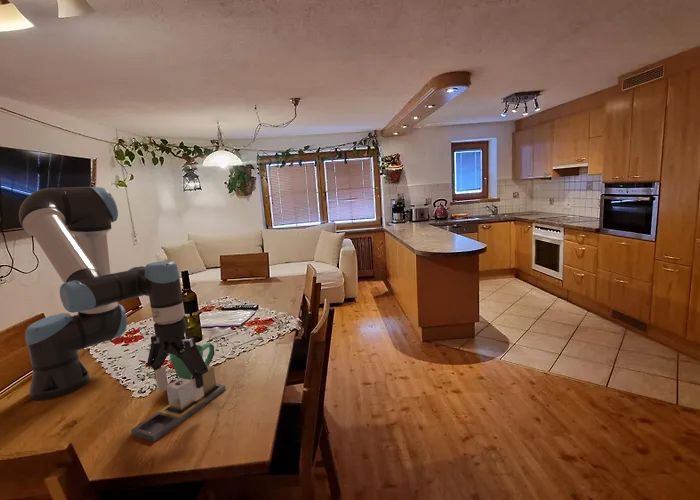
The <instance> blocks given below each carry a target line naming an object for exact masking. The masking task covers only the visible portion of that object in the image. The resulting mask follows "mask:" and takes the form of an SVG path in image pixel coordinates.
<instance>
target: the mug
mask: <svg viewBox="0 0 700 500" xmlns="http://www.w3.org/2000/svg"><path fill="white" fill-rule="evenodd" d="M196 346H197V348H198V350H199V352H200V354H201V356H202V358H203V357H204V355H203V354H204V351H205V350H206V349H207V348H209V351H208V354H207V356H206V359H205V360H204V362H205V364H206V366H210V364H211V362H212V361H213V358H214V356H215V345H214V344H213V343H211V342H210V343H209V342H206V343H204V344H202V345H200V344H196ZM183 351H185V350H184V349H183ZM183 351H182V352H183ZM169 358H170V361H171V364H172V366H173V368H174V371H175V373H176V375H177V377H178V379H179V378H183V379H188V380H191V374H190V371H189V370H188V368H187V367H186V366H185V364H184V363H183V362H182V360H181V359H180V358H178V357H177V356H176V355H173V354H169Z"/></svg>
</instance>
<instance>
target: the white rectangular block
mask: <svg viewBox="0 0 700 500" xmlns="http://www.w3.org/2000/svg"><path fill="white" fill-rule="evenodd" d="M166 388H167V389H166V394H167V400H168V405H169V407H170V411H172V412H176V413H180V414H182V413H183V412H184V411H186V410H187V409H189V408H190V407H191V406H193V405H194V404H195V401H194V396H193V390H192V383H191V380H188V379H183V378H179V377H178V378H177V379H176V380H174V381H172V382H171V383H168V385H167V386H166Z"/></svg>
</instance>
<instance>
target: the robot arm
mask: <svg viewBox="0 0 700 500" xmlns="http://www.w3.org/2000/svg"><path fill="white" fill-rule="evenodd" d="M117 206H118V205H117V203H116V200H115V198H114V196H113V194H111V192H110V191H109V190H107V188H103V187H101V186H100V187H99V186H75V187H74V186H72V187H71V186H70V187H45V188H42V189H39V190H37V191H35V192H32V193H31V194H30V195H28V196H27V197H26V198H25V199H24V200H23V202H22V203H21V204H20V206H19V211H18V221H19V223H20V226H21V227H22V228H23V230H24V232H25V233H27V235H29V236H32V237H34V239H35V240H36V242H37V243H38V245H39V247H40V248H41V250H42V251H43V253H44V254H45V256H46V257H47V259H48V260H49V263H50V264H51V265H52V266H53V268H54V269H55V271H56V273H57V274H58V276H59V278H60V279H61V280H62V282H63V283H62V284H61V285H60V287H59V297H60V301H61V303H62V306H63V307H64V310H65V311H67V312H63V313H58V314H53V315H49V316H46V317H43V318H41V319H38V320H37V321H34V322H33V323H31V324H29V326H27V327H26V329H25V331H24V334H25V335H24V336H25V344H26V346H27V349H28V350H27V351H28V354H29V359H30V363H31V368H32V376H31V381H30V386H29V396H30V398H31V400H34V401H45V400H51V399H55V398H59V397H60V398H61V397H63V396H65V395H69V394H71V393H73V392H75V391H77V390H79V389H81V388H82V387H84V386H86V384H88V383H89V382H90V374H89V371H88V370H87V368H86V367H85V365H84V364H83V362H82V361H81V359H80V356H79V351H81V350H84V349H87V348H91V347H93V346H96V345H98V344H99V345H100V344H102V343H105V342H110V341H113V340H114V339H116V338H119V337H121V336H122V335H123V334H124V333H125V332H126V330H127V327H128V316H127V314H126V309H125V308H124V306H123V305H122V304H120V303H119V302H123V301H127V300H130V299H136V298H139V297H143V296H145V297H149V299H148V300H149V303H150V308H151V315H152V321H153V322H154V323H153V329H154V335H152V336H150V348H149V353H148V358H147V363H146V364H147V367H151V369H152V370H153V371H154V377H155V381H156V386H157V392H158V393H162V392H163V391H166V390H167V388H166V386H167V385H169V382H168V381H169V380H168V376H167V370H166V366H165V363H164V362H165V361H166V360H167V357H168V355H170V354H173V355H176V356H177V357H178V358H180V359H181V360H182V362H183V363H184V364H185V366H186V367H187V368H188V370H189V371H190V373H191V374H192V375H193V377H191V383H192V390H193V396H194V401H197V400H199V399H200V398H201V397H203V396H204V391H203V385H204V383H203V374H205V373H207V372H208V368H207V366H206V364H205V360H204V359H203V358H202V356H201V354H200V352H199V350H198V348H197V346H196V345H197V344H196V343H197V342H196V340H195V337H191V338H186V336H185V333H186V332H187V329H188V328H187V323H186V320H187V319H186V318H185V316H186V314H185V308H184V307H185V306H184V301H183V294H182V287H181V279H180V272H179V270H178V265H177V262H176V261H174V260H161V261H153V262H150V263H148V264H146V265H145V266H135V267H134V266H132V267H131V268H129V269H128V270H125V271H124V270H123V271H119V272H114V273H111V268H110V266H111V265H110V256H109V255H110V254H109V246H108V236H107V233H108V232H110V230H112V223H114V222H116V221H117V220H118V217H119V210H118V207H117ZM70 313H77V314H74V315H71V314H70ZM183 349H184V350H185V351H183ZM182 351H183V352H182Z"/></svg>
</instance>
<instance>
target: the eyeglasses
mask: <svg viewBox="0 0 700 500" xmlns="http://www.w3.org/2000/svg"><path fill="white" fill-rule="evenodd" d="M232 333H236V335H239V333H238V331H237V330H235V331H234V330H233V331H231V332H228V333H225V334H221V335H218V336H216V337H213V336H210V337H209V338H208V339H209V340H208V341H209V342H208V343H211V340H212V341H213V340H215V341H216V344H217V345H216V349H215V351H217V350H218V347H219V342H221V343H220V347H221V351H222V352H224V351H223V347H222V346H223V345H222V344H223V343H228V341H225V340H222V341H221V340H218V339H219V338H221V337H223V336H226V335H230V334H232ZM259 339H261V341H262V342H263V341H264V338H263V337H262V336H259V337H257V338H254V339H252V340H249V341H247V342H244V343H242V344H239V345H235V344H234V343H233V342H231V341H229V343H230V344H232V345H233V347H234V349H236V348H238V347H241V346H242V345H245V344H248V343H251V342H253V341H256V340H259ZM233 353H234V354H236V351H234V352H233Z"/></svg>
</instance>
